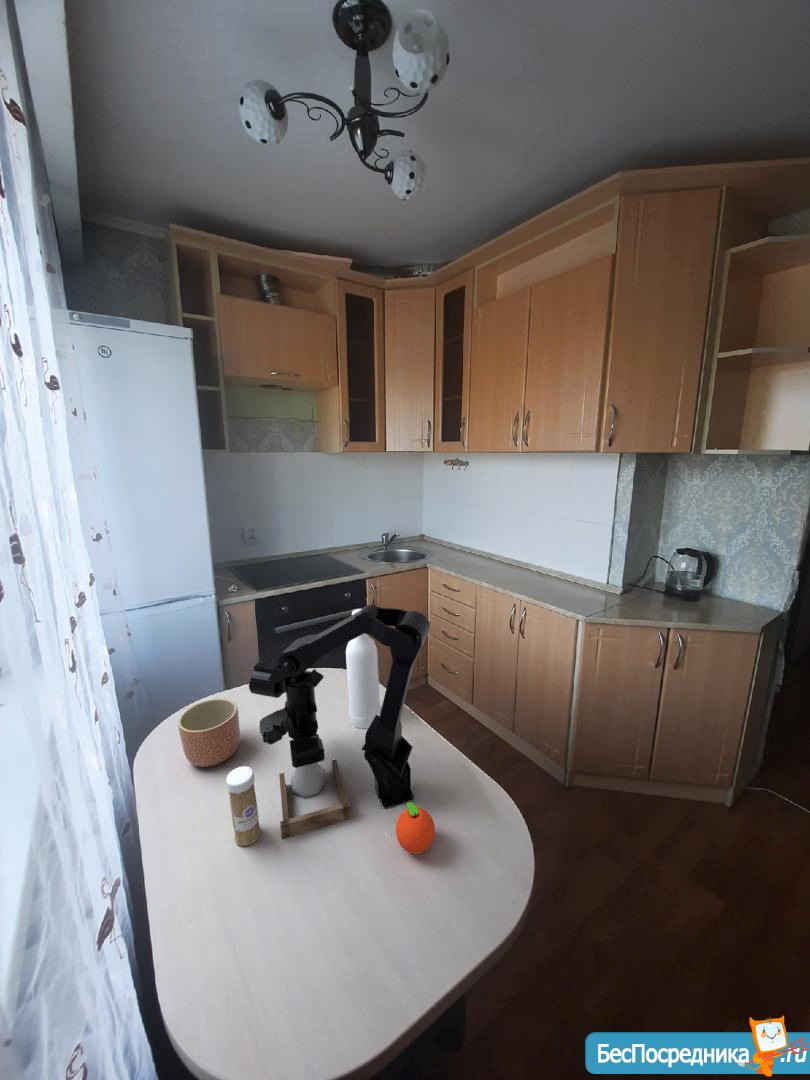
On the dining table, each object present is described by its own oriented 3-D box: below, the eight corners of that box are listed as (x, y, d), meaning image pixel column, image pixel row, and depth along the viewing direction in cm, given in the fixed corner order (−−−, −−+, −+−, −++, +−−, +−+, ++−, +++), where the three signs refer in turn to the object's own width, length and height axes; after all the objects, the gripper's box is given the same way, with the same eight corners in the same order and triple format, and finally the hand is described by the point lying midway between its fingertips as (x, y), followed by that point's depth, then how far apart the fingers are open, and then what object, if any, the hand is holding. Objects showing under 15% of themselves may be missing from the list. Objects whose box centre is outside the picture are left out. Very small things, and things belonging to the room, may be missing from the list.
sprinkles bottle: (246, 851, 77) (237, 788, 73) (229, 840, 79) (220, 778, 76) (266, 831, 80) (258, 770, 77) (249, 821, 83) (241, 761, 79)
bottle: (348, 730, 108) (340, 618, 100) (351, 710, 115) (344, 605, 108) (380, 728, 108) (375, 617, 101) (381, 709, 115) (376, 604, 108)
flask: (328, 766, 94) (326, 734, 90) (321, 799, 88) (319, 766, 83) (295, 764, 94) (292, 732, 90) (286, 797, 88) (281, 764, 83)
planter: (243, 765, 97) (237, 722, 94) (182, 782, 93) (174, 738, 90) (242, 731, 108) (237, 692, 106) (187, 745, 104) (180, 705, 101)
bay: (339, 770, 95) (338, 758, 94) (352, 818, 83) (351, 805, 82) (278, 786, 91) (276, 774, 90) (282, 839, 79) (280, 826, 78)
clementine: (389, 831, 80) (387, 799, 78) (423, 818, 82) (423, 787, 81) (404, 870, 73) (403, 836, 71) (441, 855, 75) (441, 822, 73)
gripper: (259, 682, 95) (265, 742, 99) (261, 737, 78) (268, 807, 82) (310, 673, 99) (314, 731, 103) (322, 723, 82) (327, 791, 86)
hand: (305, 762), depth 93 cm, fingers closed, pressing on flask
